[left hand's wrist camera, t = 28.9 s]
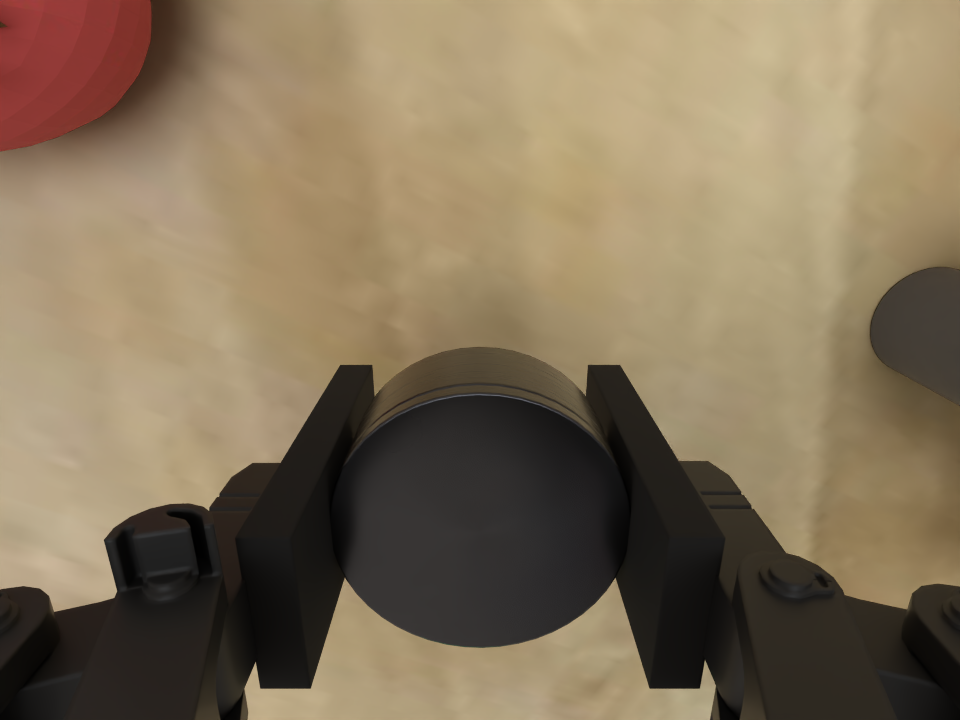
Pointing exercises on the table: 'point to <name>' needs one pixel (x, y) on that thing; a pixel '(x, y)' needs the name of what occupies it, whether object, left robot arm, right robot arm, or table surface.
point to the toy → (66, 63)
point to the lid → (480, 501)
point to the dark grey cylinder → (922, 330)
